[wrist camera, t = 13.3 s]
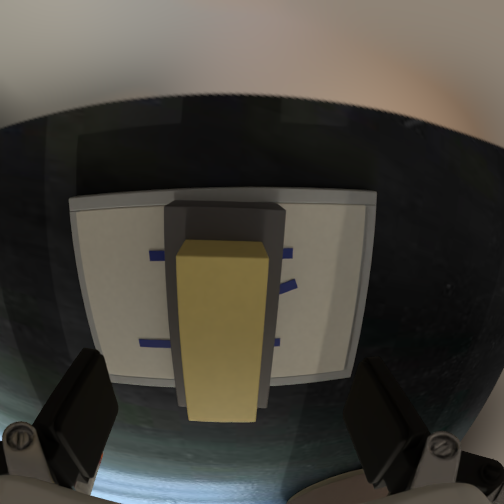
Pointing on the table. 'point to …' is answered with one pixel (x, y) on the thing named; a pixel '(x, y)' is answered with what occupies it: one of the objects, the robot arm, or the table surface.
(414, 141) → the table surface
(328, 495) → the container
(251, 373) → the eraser
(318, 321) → the whiteboard
